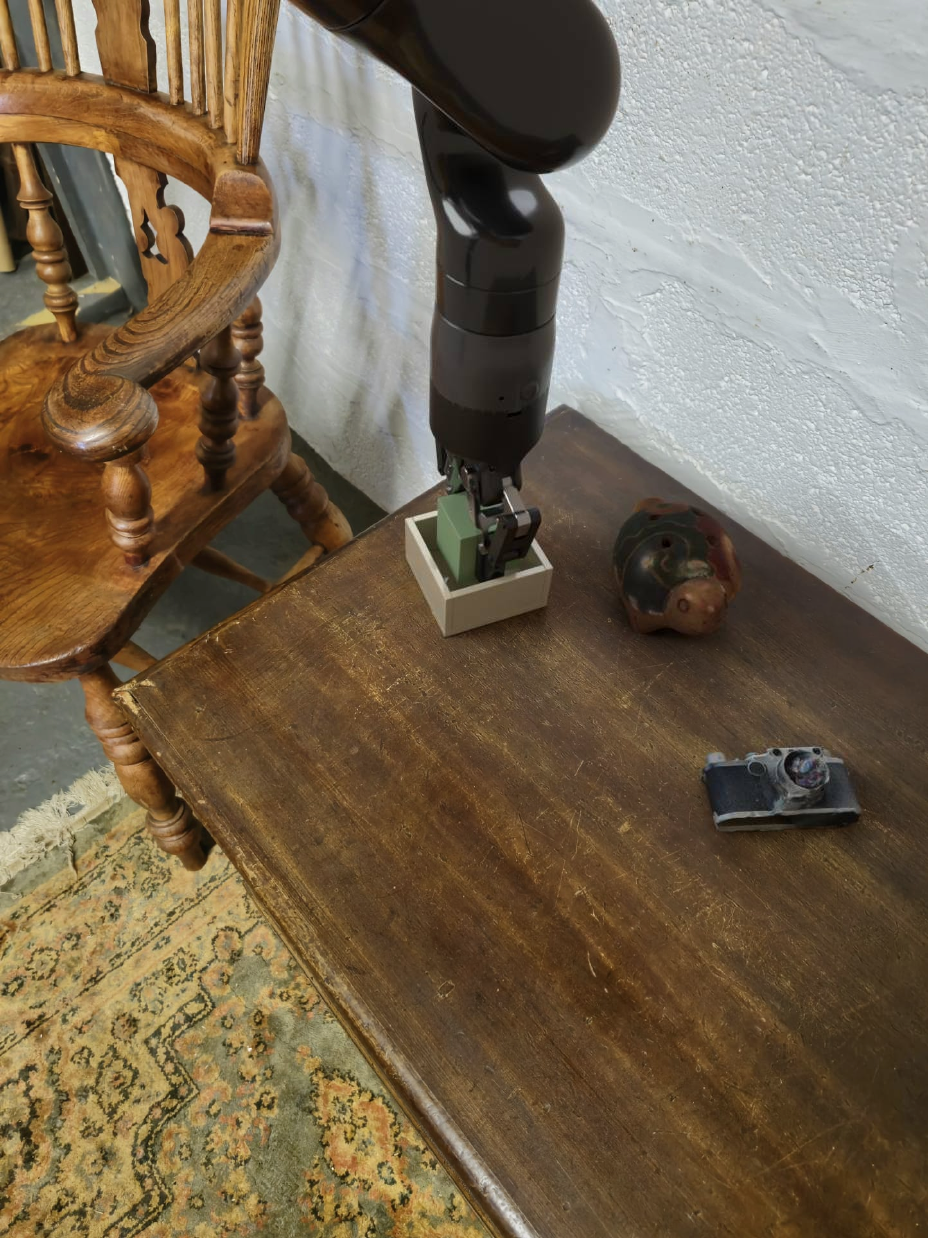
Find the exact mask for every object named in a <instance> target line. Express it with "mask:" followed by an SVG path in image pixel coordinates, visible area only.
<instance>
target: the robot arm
mask: <svg viewBox="0 0 928 1238" xmlns="http://www.w3.org/2000/svg"><path fill="white" fill-rule="evenodd" d="M286 1H287V2H289V3H290V4H291V5H292V6H294V7H295V8H297V9H298V10H299V11H300V12H302V13H303V14H305V16H307V17H308V18H310V19H311V20H312V21H314V22H315V23H316V24H318V25H319V26H321V27H322V28H323V29H324V30H326V31H328V32H329V33H330V34H331V35H333V36H334V37H336V38H337V39H339V40H341V42H344V43H346V44H347V45H349V46H350V47H352V48H354V49H356V50H357V51H359V52H360V53H363V55H366V56H368V57H369V58H371V59H373V60H375V61H376V62H378V63H379V64H381V65H383V66H385V67H387V68H388V69H390V70H391V71H393V72H394V73H395V74H397V75H398V76H400V77H401V78H402V79H403V80H405V81H406V82H407V83H408V84H410V89H411V98H412V106H413V107H412V108H413V112H414V113H413V114H414V121H415V126H416V132H417V138H418V143H419V148H420V154H421V161H422V165H423V166H422V167H423V172H424V176H425V183H426V186H427V187H426V188H427V191H428V195H429V198H430V202H431V206H432V210H433V215H434V220H435V221H434V222H435V226H436V227H435V228H436V234H435V235H436V238H435V261H434V262H435V266H434V267H435V268H434V305H433V313H432V318H431V324H430V333H429V383H428V384H429V386H428V387H429V389H428V390H429V391H428V392H429V396H428V398H429V399H428V423H429V429H430V431H431V434H432V436H433V438H434V443H435V452H436V455H435V456H436V465H437V466H436V469H437V472H438V473H439V475H440V476H441V477H446V483H445V492H446V495H447V496H448V495H452V494H456V493H460V492H464V491H466V495H467V506H468V517H469V520H470V521H471V522H472V523H473V524H474V526H475V527H476V533H477V549H476V562H475V577H476V578H477V580H478V582H479V583H483V582H487V581H490V580H493V579H497V578H500V577H504V574H505V567H506V562H509V561H513V560H516V559H522V558H525V557H526V555H527V553H528V551H529V549H530V546H531V544H532V542H533V540H534V538H535V539H536V536H537V534H538V532H539V529H540V527H541V525H542V513H541V511H540V509H539V508H538V506H533V507H529V508H526V506H525V504H524V502H523V499H522V497H521V495H520V492H521V489H522V487H523V476H522V461H523V460H524V459H525V458H526V456H527V455H528V454H529V453H530V452H531V451H532V450H533V449H534V448H535V446H537V444H538V443H539V441H540V440H541V438H542V435H543V432H544V426H545V421H546V420H545V419H546V412H547V408H548V407H547V406H548V400H549V393H550V387H551V380H552V379H551V378H552V373H553V366H554V358H555V353H556V352H555V351H556V344H557V343H556V340H557V306H558V301H559V293H560V287H561V280H562V273H563V266H564V255H565V248H566V247H565V246H566V222H565V218H564V214H563V211H562V210H561V208H560V206H559V205H558V202H557V201H556V199H555V198H554V197H553V195H552V194H551V193H550V191H549V189H548V187H547V186H546V185H545V183H544V182H543V180H542V178H541V176H540V175H550V174H554V173H558V172H562V171H564V170H567V169H570V168H572V167H574V166H576V165H578V164H579V163H581V162H582V161H583V160H585V159H586V158H587V157H589V156H590V155H591V154H592V153H593V152H594V151H595V150H596V149H597V148H598V147H599V146H600V144H601V143H602V141H603V140H604V139H605V137H606V136H607V134H608V132H609V130H610V129H611V126H612V124H613V122H614V120H615V118H616V114H617V111H618V107H619V104H620V99H621V92H622V77H623V76H622V63H621V57H620V51H619V47H618V43H617V40H616V38H615V35H614V33H613V30H612V28H611V26H610V24H609V22H608V21H607V19H606V18H605V15H604V14H603V12H602V11H601V10H600V8H599V7H598V6H597V5H596V3H595V2H594V1H593V0H286ZM501 503H503V504H501ZM497 504H501V505H499V506H495V507H491V508H487V509H484V510H481V507H480V505H481V506H483V507H490V506H493V505H497ZM496 524H497V528H496V530H495V533H494V534H491V535H489V532H488V529H489V527H490V526H492V525H496Z"/></svg>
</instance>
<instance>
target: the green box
mask: <svg viewBox="0 0 928 1238" xmlns="http://www.w3.org/2000/svg"><path fill="white" fill-rule="evenodd" d="M501 504H503V503H501ZM501 504H497V505H493V506H490V507H483V506H481V505H480V507H481V510H484V509H487V508H491V507H495V506H499V505H501ZM436 510H437V545H438V547H439V549H440V551H441V553H442V555H443V557H444V559H445V561H446V563H447V564H448V566H449V568H450V570H451V572H452V574H453V576H454V578H455V580H456V582H457V584H461V583H465V582H468V581H472V580H475V579H477V578H476V577H475V562H476V549H477V533H476V527H475V526H474V524H473V523H472V522H471V521H470V520H469V517H468V506H467V495H466V491H464V492H460V493H456V494H452V495H448V494H447V495H444V496H441V497H438V498H437V509H436ZM496 528H497V524H496V525H492V526H490V527H489V529H488V532H489V535H491V534H494V533H495V530H496ZM517 567H518V559H516V560H513V561H509V562H506V567H505V571H506V570H510V569H513V568H517Z"/></svg>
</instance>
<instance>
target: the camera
mask: <svg viewBox="0 0 928 1238" xmlns="http://www.w3.org/2000/svg"><path fill="white" fill-rule="evenodd" d="M744 758H745V759H743V760H742V759H741V760H740V758H738V757H736V758H734V760H727V758H726V754H724V753H723V752H721V751H717V752H711V753H708V754H707V755H706V756H705V758H704V759H705V763H706V765H704V766H703V767H702V769H701V773H702V774H701V775H700V776H699V780H700V782H701V783H702V784H703V785H704V787H705V790H706V795H707V799H708V803H709V808H710V811H711V814H712V819H713V823H714V825H715V829H716V831H717V832H721V833H745V832H770V831H781V830H789V829H793V830H795V829H796V830H798V829H824V828H840V827H841V828H842V827H843V828H844V827H846V826H851V825H853V824H856V823H858V822H860V820H861V817H862V814H863V810H862V808H861V805H860V803H859V800H858V798H857V795H856V792H855V789H854V786H853V784H852V781H851V778H850V775H851V774H850V772H849V770H848V768H847V767H846V765H845V761H844V760H843V759H842V758H839V757H832V755H831V752H830V751H829V750H828V749H823V748H822V747H819V746H802V747H801V746H800V747H799V746H798V747H774V748H773V747H772V748H767V749H766V750H765V751H764V752H763V753H762V754H760V753H759V752H748V753H747V754H746V755H745V756H744Z"/></svg>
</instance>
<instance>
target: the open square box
mask: <svg viewBox="0 0 928 1238" xmlns="http://www.w3.org/2000/svg"><path fill="white" fill-rule="evenodd" d="M437 510H438V509H436V510H433V511H429V512H426V513H421V514H418V515H414V516H411V517H406V518H405V519H404V533H405V534H404V535H405V536H404V537H405V559H406V561H407V563H408V565H409V567H410V570H411V572H412V574H413V576H414V578H415V580H416V582H417V583H418V586H419V588H420V590H421V592H422V594H423V596H424V598H425V601H426V602H427V605H428V607H429V608H430V610H431V612H432V614H433V617H434V619H435V621H436V623H437V625H438V627H439V629H440V632H441V633H442V636H443V637H444V638H446V637H450V636H453V635H456V634H460V633H463V632H467V631H469V630H472V629H476V628H480V627H483V626H487V625H489V624H493V623H495V622H499V621H502V620H505V619H509V618H512V617H515V616H518V615H521V614H525V613H528V612H532V611H534V610H538V609H541V608H544V607H547V605H548V600H549V598H548V597H549V593H550V588H551V583H552V578H553V572H554V567H553V565H552V564H551V562H550V561H549V559H548V557H547V556H546V554H545V552H544V551H543V549H542V548H541V545H540V544H539V542H538V541H537V539H536V537H535V538H534V540H533V542H532V544H531V546H530V549H529V551H528V553H527V555H526V557H525V558H522V559H518V567H517V568H513V569H510V570H506V571H505V574H504V577H500V578H497V579H493V580H490V581H487V582H483V583H479V582H478V580H477V579H475V580H472V581H468V582H465V583H461V584H457V582H456V580H455V578H454V576H453V574H452V572H451V570H450V568H449V566H448V564H447V563H446V561H445V559H444V557H443V555H442V553H441V551H440V549H439V547H438V545H437Z"/></svg>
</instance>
